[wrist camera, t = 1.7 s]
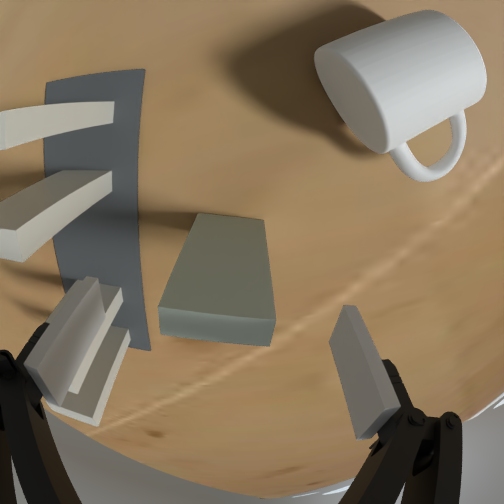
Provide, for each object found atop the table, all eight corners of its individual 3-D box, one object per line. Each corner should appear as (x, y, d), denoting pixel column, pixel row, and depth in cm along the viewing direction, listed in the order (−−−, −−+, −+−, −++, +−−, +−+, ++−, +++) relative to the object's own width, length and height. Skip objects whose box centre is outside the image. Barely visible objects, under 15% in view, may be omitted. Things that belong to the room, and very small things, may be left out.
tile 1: (62, 106, 17) (-45, 127, 7) (114, 101, 18) (6, 110, 7) (61, 126, 18) (-44, 158, 8) (112, 123, 19) (5, 149, 8)
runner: (48, 82, 16) (46, 82, 16) (145, 69, 17) (144, 68, 17) (79, 333, 30) (78, 335, 30) (151, 349, 30) (150, 351, 30)
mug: (303, 60, 17) (332, 34, 10) (398, 21, 15) (452, -2, 8) (375, 187, 22) (424, 224, 15) (454, 140, 19) (514, 160, 12)
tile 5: (87, 320, 28) (45, 400, 18) (128, 328, 29) (92, 418, 18) (91, 331, 29) (52, 410, 18) (130, 339, 29) (98, 426, 19)
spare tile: (198, 212, 23) (157, 306, 12) (264, 220, 23) (276, 319, 13) (197, 232, 24) (160, 334, 13) (260, 239, 24) (269, 346, 13)
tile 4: (77, 279, 25) (19, 360, 15) (120, 287, 26) (70, 380, 15) (80, 293, 26) (27, 374, 16) (123, 301, 27) (77, 394, 16)
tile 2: (62, 170, 20) (-35, 224, 9) (111, 170, 20) (15, 230, 10) (63, 189, 21) (-28, 251, 10) (112, 191, 21) (23, 262, 11)
